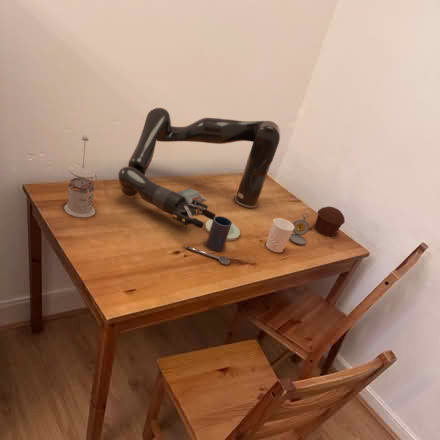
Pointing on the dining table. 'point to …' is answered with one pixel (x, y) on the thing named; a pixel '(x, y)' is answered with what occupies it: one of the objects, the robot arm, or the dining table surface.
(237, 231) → the side plate
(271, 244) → the white cup
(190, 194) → the packaged food
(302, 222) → the pocket watch
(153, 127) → the robot arm
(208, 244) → the tumbler
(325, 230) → the muffin
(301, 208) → the dining table surface
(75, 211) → the french press
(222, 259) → the spoon
